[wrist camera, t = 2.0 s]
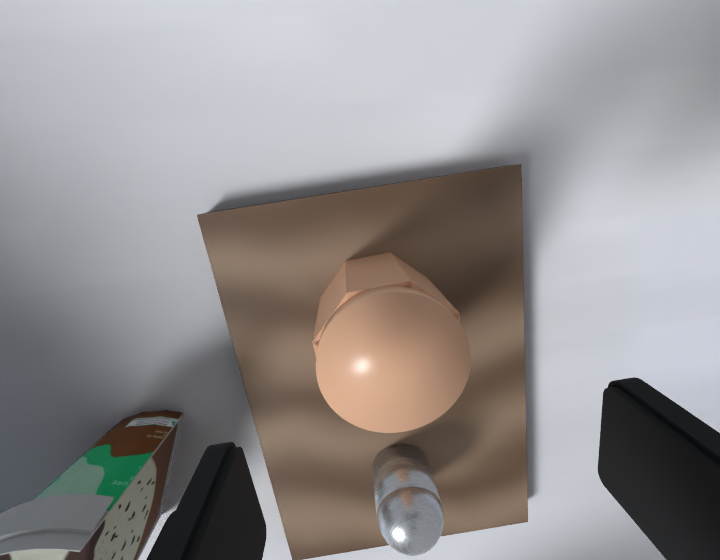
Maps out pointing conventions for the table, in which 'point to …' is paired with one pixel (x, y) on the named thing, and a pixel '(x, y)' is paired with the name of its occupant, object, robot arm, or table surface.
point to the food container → (99, 497)
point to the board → (298, 360)
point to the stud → (406, 499)
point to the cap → (388, 346)
